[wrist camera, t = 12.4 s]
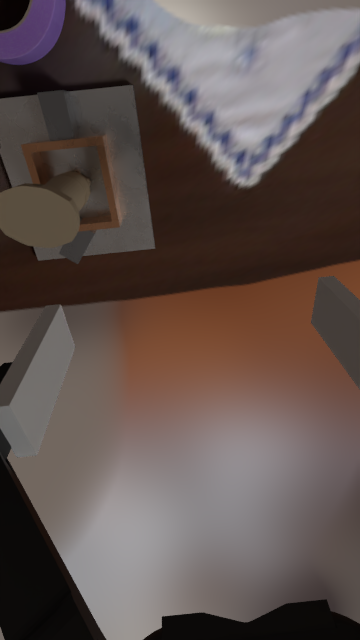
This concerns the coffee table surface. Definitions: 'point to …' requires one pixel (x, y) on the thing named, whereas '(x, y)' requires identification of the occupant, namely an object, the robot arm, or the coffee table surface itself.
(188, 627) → the robot arm
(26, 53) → the masking tape
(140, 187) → the coupling base
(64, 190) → the handle
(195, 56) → the coffee table surface
